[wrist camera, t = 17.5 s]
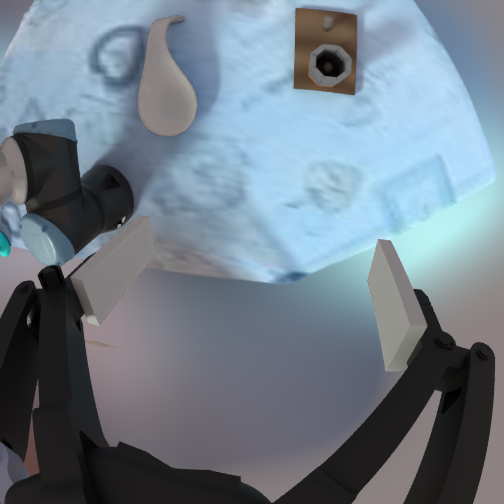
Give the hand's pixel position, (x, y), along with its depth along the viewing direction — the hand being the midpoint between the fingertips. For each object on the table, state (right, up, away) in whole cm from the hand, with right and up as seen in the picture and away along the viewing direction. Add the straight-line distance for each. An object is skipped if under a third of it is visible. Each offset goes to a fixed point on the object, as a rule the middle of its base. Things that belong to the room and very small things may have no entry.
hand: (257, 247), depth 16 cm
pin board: (+12, +33, +21) cm, 41 cm away
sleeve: (+11, +29, +22) cm, 38 cm away
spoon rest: (-15, +32, +28) cm, 45 cm away
